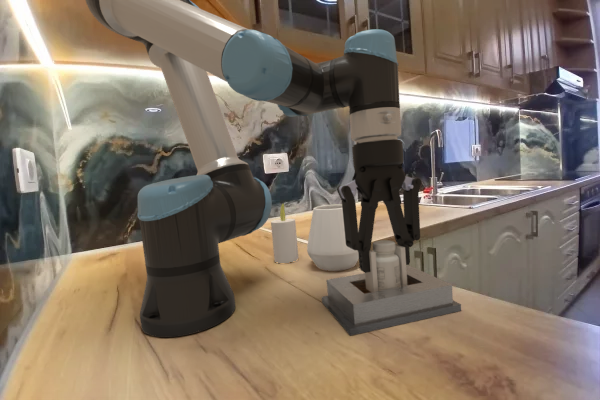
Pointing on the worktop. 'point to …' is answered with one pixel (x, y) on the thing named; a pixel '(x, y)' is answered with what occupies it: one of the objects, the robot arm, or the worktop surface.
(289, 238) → the candle
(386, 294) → the holder
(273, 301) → the worktop surface
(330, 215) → the white vase
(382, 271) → the pill bottle
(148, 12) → the robot arm
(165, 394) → the worktop surface
